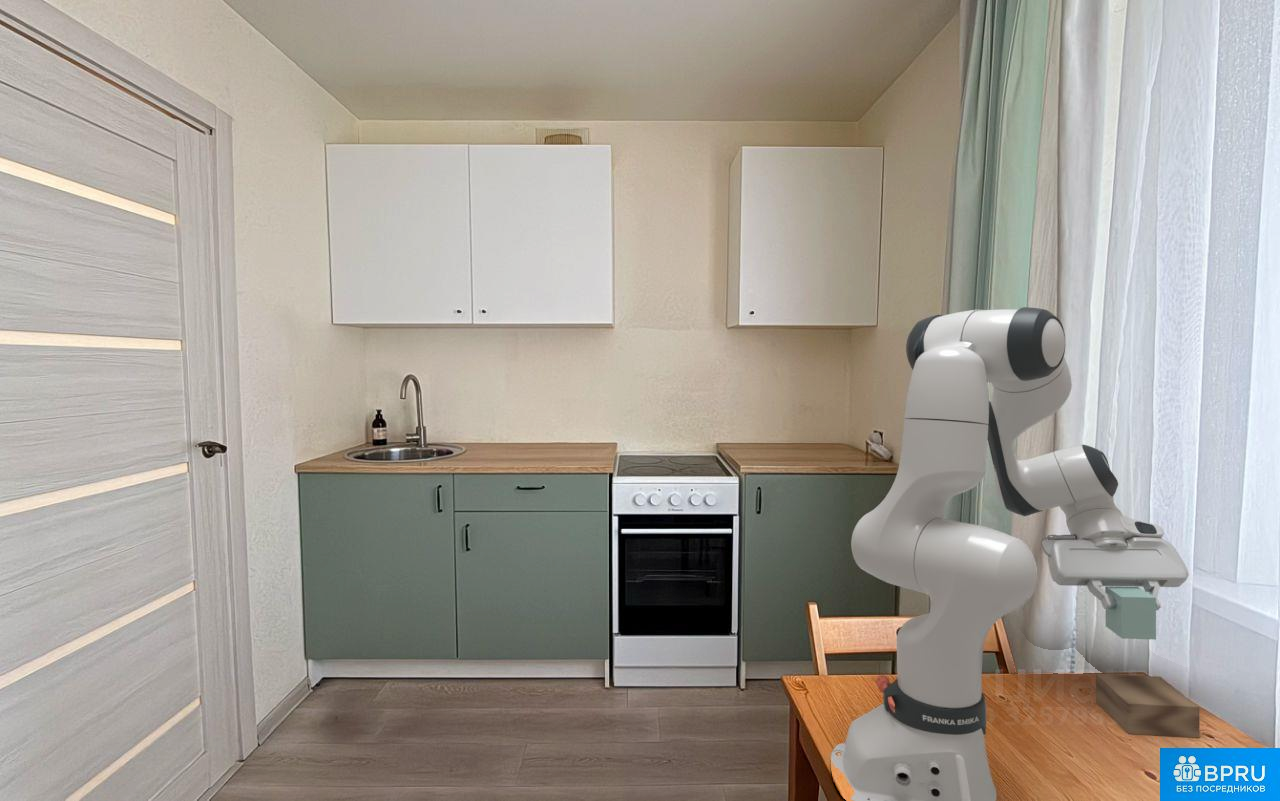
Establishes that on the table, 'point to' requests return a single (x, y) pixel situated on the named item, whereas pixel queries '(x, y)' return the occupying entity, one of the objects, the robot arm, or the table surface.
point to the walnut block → (1147, 705)
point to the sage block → (1132, 613)
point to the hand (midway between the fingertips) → (1132, 608)
